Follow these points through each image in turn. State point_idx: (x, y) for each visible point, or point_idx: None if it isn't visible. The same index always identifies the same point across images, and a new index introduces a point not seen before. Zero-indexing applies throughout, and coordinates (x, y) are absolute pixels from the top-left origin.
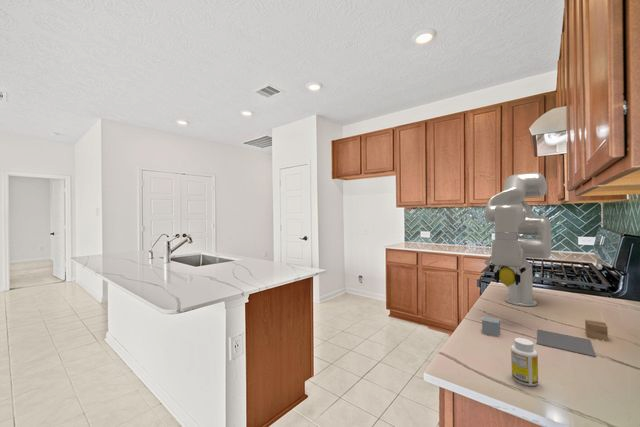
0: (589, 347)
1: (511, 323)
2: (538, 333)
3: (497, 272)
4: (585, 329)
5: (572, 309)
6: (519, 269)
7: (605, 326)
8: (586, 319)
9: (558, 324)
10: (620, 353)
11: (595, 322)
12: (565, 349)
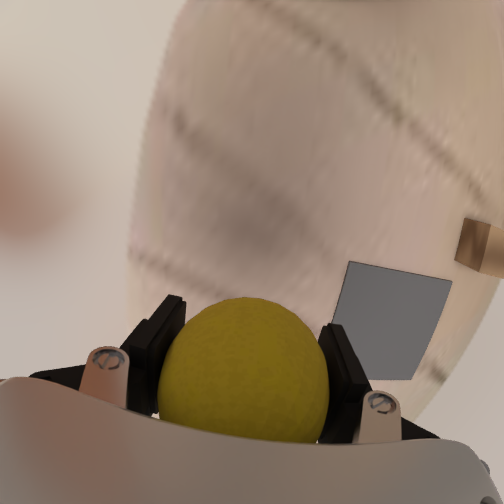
0: (425, 339)
1: (273, 227)
2: (342, 302)
3: (145, 410)
4: (470, 222)
5: (456, 12)
6: (387, 438)
7: (502, 276)
8: (492, 228)
9: (423, 165)
10: (464, 330)
11: (498, 250)
12: (368, 378)
